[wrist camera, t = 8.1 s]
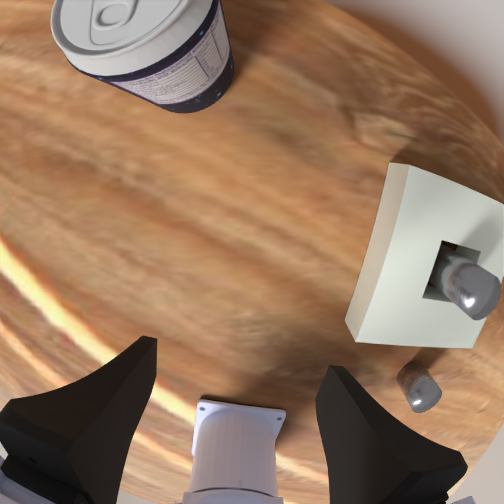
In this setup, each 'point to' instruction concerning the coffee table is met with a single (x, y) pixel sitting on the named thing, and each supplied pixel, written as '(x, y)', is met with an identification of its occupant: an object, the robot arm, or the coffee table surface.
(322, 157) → the coffee table surface
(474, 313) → the long pin
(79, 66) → the beverage can
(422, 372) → the short pin
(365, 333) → the hole block
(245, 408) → the robot arm
